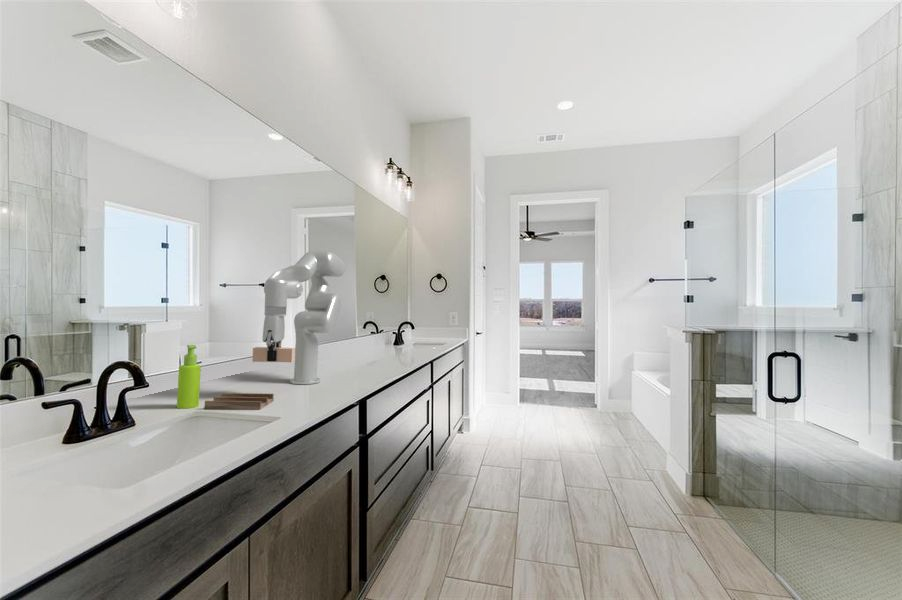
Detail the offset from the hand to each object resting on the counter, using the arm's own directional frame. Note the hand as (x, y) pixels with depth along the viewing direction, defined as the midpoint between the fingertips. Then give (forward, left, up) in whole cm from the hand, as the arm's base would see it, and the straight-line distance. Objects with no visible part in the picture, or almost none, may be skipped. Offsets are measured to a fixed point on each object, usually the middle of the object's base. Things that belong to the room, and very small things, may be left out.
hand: (273, 359), depth 144 cm
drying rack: (+14, -5, -13) cm, 20 cm away
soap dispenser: (+18, -20, -14) cm, 30 cm away
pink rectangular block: (0, 0, -1) cm, 1 cm away
